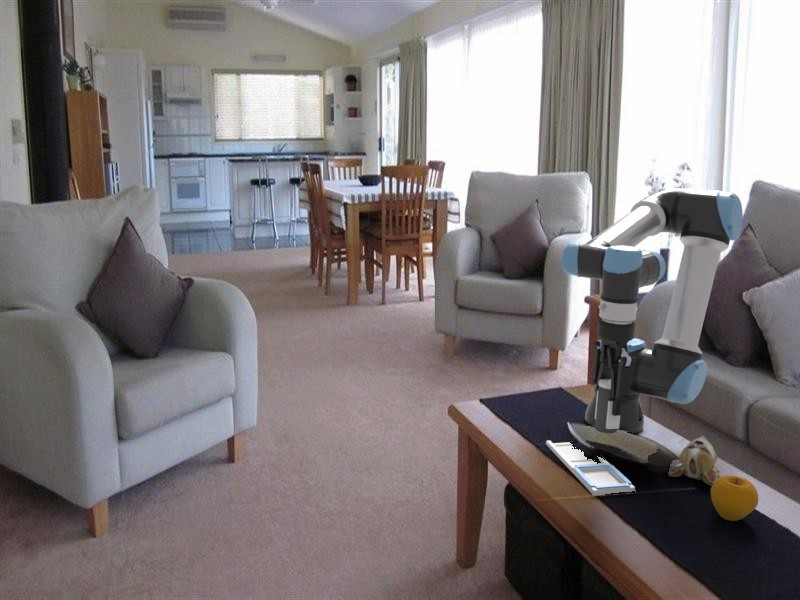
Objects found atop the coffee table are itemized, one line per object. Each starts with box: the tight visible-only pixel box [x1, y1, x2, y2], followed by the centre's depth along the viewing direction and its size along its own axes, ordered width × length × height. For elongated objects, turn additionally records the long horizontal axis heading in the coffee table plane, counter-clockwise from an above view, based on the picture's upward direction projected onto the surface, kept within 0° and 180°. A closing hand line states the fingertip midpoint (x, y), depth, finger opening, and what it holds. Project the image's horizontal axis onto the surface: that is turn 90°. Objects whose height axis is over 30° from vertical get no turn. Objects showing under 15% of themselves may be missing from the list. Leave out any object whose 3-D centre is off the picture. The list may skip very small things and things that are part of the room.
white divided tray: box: [545, 440, 636, 497], centre depth 171 cm, size 10×26×2 cm, turn 12°
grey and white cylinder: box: [594, 379, 617, 434], centre depth 160 cm, size 5×5×11 cm
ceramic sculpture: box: [667, 435, 720, 487], centre depth 168 cm, size 11×9×15 cm
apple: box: [710, 475, 759, 522], centre depth 149 cm, size 9×9×9 cm
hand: (606, 423), depth 161 cm, fingers closed on grey and white cylinder, 5 cm apart
